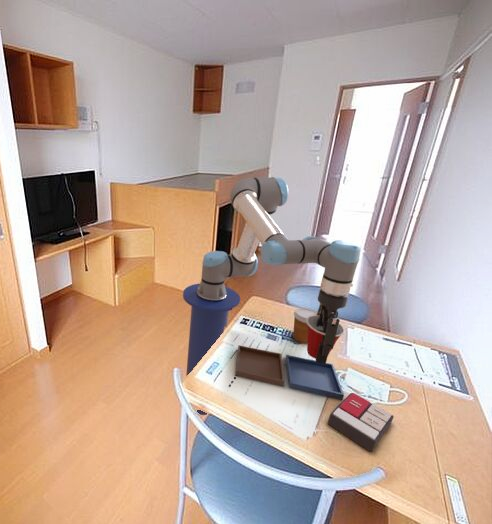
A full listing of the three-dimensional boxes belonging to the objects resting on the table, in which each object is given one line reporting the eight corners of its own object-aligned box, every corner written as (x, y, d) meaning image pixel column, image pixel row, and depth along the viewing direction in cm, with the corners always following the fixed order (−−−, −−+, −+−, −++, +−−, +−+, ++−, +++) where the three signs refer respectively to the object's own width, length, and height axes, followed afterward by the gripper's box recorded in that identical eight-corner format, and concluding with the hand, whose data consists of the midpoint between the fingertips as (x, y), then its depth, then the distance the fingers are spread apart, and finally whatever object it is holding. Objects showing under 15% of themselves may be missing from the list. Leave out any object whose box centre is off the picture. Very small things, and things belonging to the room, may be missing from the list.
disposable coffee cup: (283, 334, 128) (289, 309, 124) (302, 330, 131) (307, 306, 126) (301, 347, 120) (307, 321, 115) (320, 343, 122) (326, 317, 118)
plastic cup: (316, 368, 94) (325, 335, 90) (292, 347, 104) (298, 317, 100) (344, 362, 97) (354, 330, 93) (317, 342, 107) (325, 313, 103)
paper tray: (237, 349, 118) (238, 345, 117) (279, 358, 113) (280, 353, 113) (235, 375, 105) (236, 370, 104) (283, 386, 100) (284, 381, 99)
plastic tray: (285, 359, 113) (286, 354, 112) (331, 368, 108) (332, 363, 108) (289, 388, 100) (290, 382, 99) (342, 400, 95) (344, 394, 94)
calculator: (395, 413, 86) (376, 440, 77) (390, 425, 87) (371, 452, 78) (352, 390, 94) (330, 411, 85) (348, 401, 95) (326, 423, 87)
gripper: (358, 309, 82) (338, 377, 90) (339, 280, 100) (324, 338, 108) (327, 305, 84) (310, 371, 92) (314, 277, 102) (301, 334, 110)
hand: (318, 353), depth 100 cm, fingers closed on plastic cup, 8 cm apart
